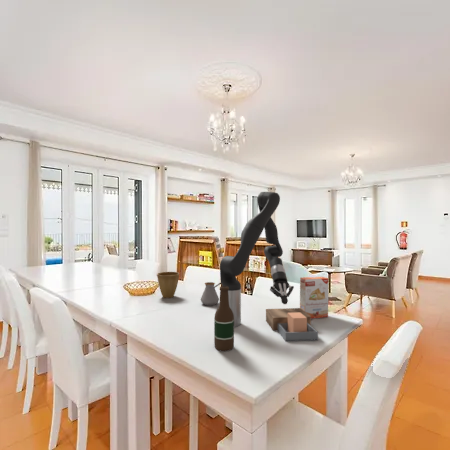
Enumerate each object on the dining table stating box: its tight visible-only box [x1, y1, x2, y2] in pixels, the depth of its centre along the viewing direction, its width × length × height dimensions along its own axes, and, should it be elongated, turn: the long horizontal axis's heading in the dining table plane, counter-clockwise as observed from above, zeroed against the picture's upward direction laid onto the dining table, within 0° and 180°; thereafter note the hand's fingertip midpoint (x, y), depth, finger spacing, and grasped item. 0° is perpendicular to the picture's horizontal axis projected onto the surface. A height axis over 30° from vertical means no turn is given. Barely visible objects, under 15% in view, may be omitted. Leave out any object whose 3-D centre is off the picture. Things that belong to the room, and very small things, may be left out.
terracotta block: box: [288, 312, 307, 332], centre depth 126 cm, size 6×8×8 cm
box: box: [277, 323, 319, 342], centre depth 125 cm, size 14×12×4 cm
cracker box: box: [299, 276, 330, 320], centre depth 152 cm, size 14×6×21 cm, turn 105°
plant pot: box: [156, 271, 180, 299], centre depth 195 cm, size 15×15×16 cm
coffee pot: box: [200, 281, 222, 306], centre depth 180 cm, size 21×12×15 cm, turn 125°
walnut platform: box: [265, 307, 312, 332], centre depth 139 cm, size 18×14×6 cm
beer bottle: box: [213, 285, 235, 352], centre depth 113 cm, size 8×8×24 cm
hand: (285, 303), depth 143 cm, fingers closed
